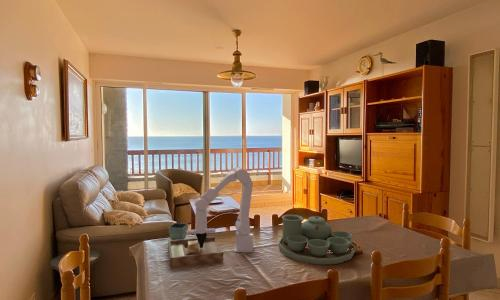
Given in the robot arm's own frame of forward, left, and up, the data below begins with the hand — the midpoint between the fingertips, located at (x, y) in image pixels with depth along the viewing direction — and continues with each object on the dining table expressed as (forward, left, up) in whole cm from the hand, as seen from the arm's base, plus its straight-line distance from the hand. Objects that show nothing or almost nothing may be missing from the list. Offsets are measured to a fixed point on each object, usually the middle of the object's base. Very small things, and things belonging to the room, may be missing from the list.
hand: (201, 247), depth 160 cm
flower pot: (+17, -19, -4) cm, 26 cm away
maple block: (+4, +1, -1) cm, 4 cm away
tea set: (-60, -11, -4) cm, 62 cm away
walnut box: (+3, +1, -3) cm, 5 cm away
